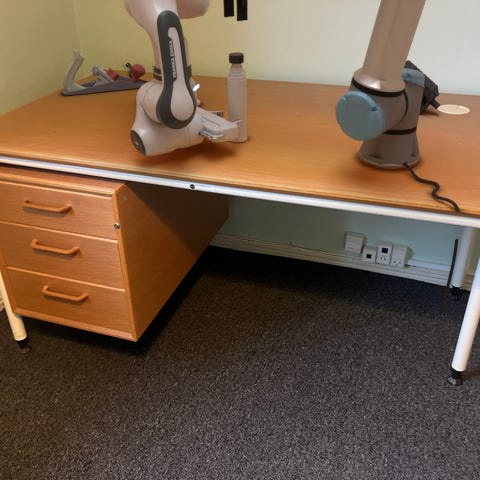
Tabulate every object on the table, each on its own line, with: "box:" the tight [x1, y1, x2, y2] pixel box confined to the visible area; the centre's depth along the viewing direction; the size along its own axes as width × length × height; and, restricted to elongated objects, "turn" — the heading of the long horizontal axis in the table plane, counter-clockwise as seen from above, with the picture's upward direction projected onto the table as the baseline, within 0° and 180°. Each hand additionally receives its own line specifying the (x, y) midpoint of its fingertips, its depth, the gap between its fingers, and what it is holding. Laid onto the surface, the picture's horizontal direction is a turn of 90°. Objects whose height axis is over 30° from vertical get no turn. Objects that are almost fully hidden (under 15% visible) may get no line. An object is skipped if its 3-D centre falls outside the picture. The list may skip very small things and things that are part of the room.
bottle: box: [226, 63, 248, 143], centre depth 147 cm, size 5×5×23 cm
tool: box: [404, 59, 442, 114], centre depth 170 cm, size 6×19×15 cm, turn 51°
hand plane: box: [61, 48, 146, 96], centre depth 194 cm, size 7×31×15 cm, turn 107°
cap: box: [228, 51, 245, 65], centre depth 141 cm, size 4×4×2 cm
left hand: (232, 117), depth 149 cm, fingers open, 8 cm apart
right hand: (235, 18), depth 136 cm, fingers open, 6 cm apart
